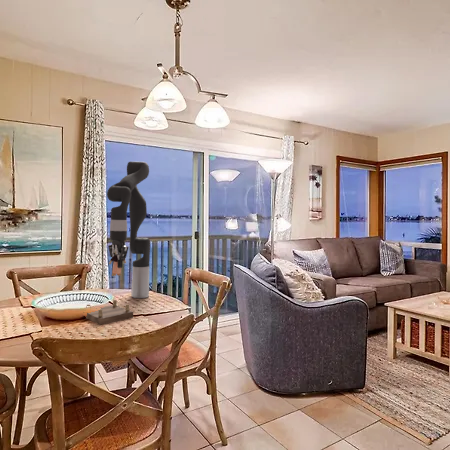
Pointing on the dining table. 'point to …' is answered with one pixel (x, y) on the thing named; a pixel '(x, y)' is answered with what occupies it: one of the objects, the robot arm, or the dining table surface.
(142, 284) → the robot arm
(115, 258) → the grandmother figurine
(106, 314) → the grey peg board
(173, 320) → the dining table surface
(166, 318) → the dining table surface
